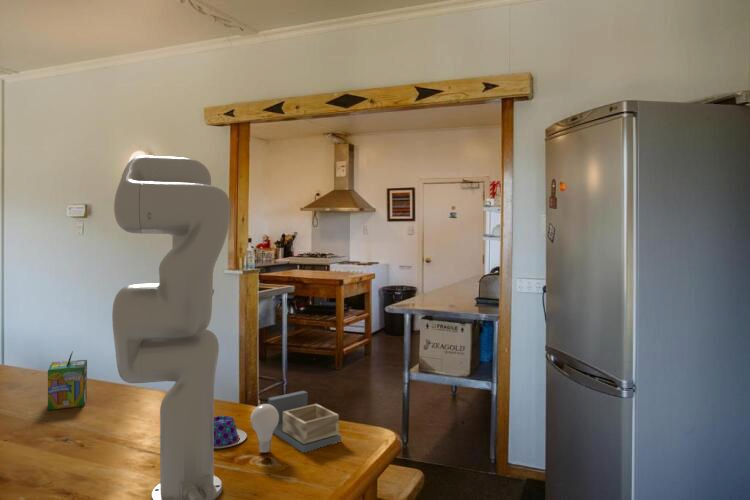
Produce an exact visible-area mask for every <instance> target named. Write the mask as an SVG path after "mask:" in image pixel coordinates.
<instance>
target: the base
mask: <svg viewBox="0 0 750 500" xmlns="http://www.w3.org/2000/svg"><path fill="white" fill-rule="evenodd" d="M308 393H309V392H308V391H306V390H299V391H296V392H291V393H285V394H282V395H276V396H272V397H268V398H267V404H270V405H272V406H274V407H275V408H276V409H277V411H278V413H279V422H278V425H277V427H276V428H275V430H274V431H273V435H275V436H277V437H278V438H280V439H282V440H283V441H285V442H286V443H287V444H289V445H290V446H292V447H294V448H295V449H297V450H298V451H299V452H301V453H302V452H303V453H302V454H305V453H309V452H311V450H312V451H315V450H318V449H317V448H319V449H321V448H320V447H322V448H324V447H323V446H325V447H327V446H326V445H329V444H332V445H334V444H333V443H335V442H339V441H341V442H342V435H341V434H340V433H339V434H337V435H334V436H330V437H327V438H323V439H320V440H316V441H313V442H309V443H306V444H303V443H301V442H300V441H298V440H297V439H295V438H293V437H292V436H290V435H289V434H287V433H286V432H284V431H283V411H287V410H291V409H295V408H299V407H304V406H308ZM339 443H340V442H339ZM335 444H336V443H335ZM329 446H330V445H329ZM314 449H315V450H314ZM308 451H309V452H308ZM304 452H305V453H304Z"/></svg>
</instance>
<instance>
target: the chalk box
mask: <svg viewBox="0 0 750 500" xmlns="http://www.w3.org/2000/svg"><path fill="white" fill-rule="evenodd" d="M73 352H74V351H71V353H70V355H69V358H68V360H65V361H64V360H63V361H52V362H51V364H50V366H49V367H48V370H47V411H52V410H60V409H61V410H62V409H69V408H79V407H84V406H86V401H87V397H88V395H87V393H88V391H87V387H88V386H87V379H88V378H87V377H88V360H87V359H82V360H81V359H80V360H72V356H73Z"/></svg>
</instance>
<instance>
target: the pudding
mask: <svg viewBox="0 0 750 500" xmlns="http://www.w3.org/2000/svg"><path fill="white" fill-rule="evenodd" d="M238 435H239V436H238ZM247 437H248V435H247V433H246V432H245V431H243V430H241V429H238V428H237V426H236V422H235V419H234V417H232V416H228V415H218V416H215V417H214V449H223V448H224V449H225V448H229V447H232V446H233V447H234V446H236V445H238V444H241V443H242V442H244V441H245V440H246V438H247ZM239 438H240V440H239ZM238 440H239V441H238ZM235 441H236V442H235ZM237 441H238V442H237Z"/></svg>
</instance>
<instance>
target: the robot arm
mask: <svg viewBox="0 0 750 500" xmlns="http://www.w3.org/2000/svg"><path fill="white" fill-rule="evenodd" d="M113 203H114V204H113V211H114V217H115V220H116V223H117V226H119V227H120V229H122V230H123V231H125V232H127V233H130V234H140V235H141V234H143V235H144V234H146V235H147V234H149V235H150V234H151V235H156V234H157V235H160V234H161V235H167V234H168V235H171V237H172V243H171V245H172V246H171V247H172V248H171V249H170V250H169V251H168V253H166V255H164V257H163V258H162V260H161V262H160V263H159V267H158V275H159V277H158V278H159V282H158V283H136V284H129V285H126V286H123V287H122V288H121V289H120V290H119V291H118V292H117V294H116V295H115V297H114V299H113V304H112V312H111V313H112V316H111V317H112V330H113V331H112V332H113V340H114V350H115V360H116V366H117V367H116V368H117V372H118V375H119V377H120V379H121V380H123V382H125V383H128V384H147V383H157V382H158V383H159V382H174V384H173V385H172V386H171V388H170V389H168V391H167V392H166V394H165V395H164V397H163V398H162V400H161V402H160V403H161V404H160V408H159V409H160V410H159V417H160V418H159V420H160V421H159V425H160V426H159V431H160V432H159V435H160V436H159V441H160V443H159V447H160V449H159V452H160V453H159V458H160V459H159V462H160V463H159V464H160V466H159V468H160V469H159V470H160V472H159V473H160V475H159V476H160V477H159V478H160V483H159V484H157V485H156V486H155V487H154V488H152V489H153V490H152V491H151V494H150V495H151V497H150V498H151V499H150V500H216V499H218V497H219V496H220V495H221V493H222V491H223V482H222V480H221V479H220V478H219V477H218V476H216V475H215V474H214V473H215V471H214V470H215V469H214V468H215V465H214V462H215V460H214V459H215V458H214V456H215V455H214V454H215V453H214V452H215V451H214V450H215V448H214V416H215V413H214V411H215V381H216V374H217V365H218V361H219V360H218V359H219V351H220V345H219V340H218V337H217V335H216V334H215V333H214V332H213V331H211V330H209V329H208V327H209V325H210V322H211V319H212V310H213V295H214V292H215V290H214V289H213V283H214V269H215V266H216V262H217V261H218V258H219V257H220V254H221V251H222V249H223V247H224V244H225V242H226V240H227V239H226V238H227V236H228V232H229V226H230V219H231V203H230V198H229V196H228V194H227V193H226V191H224V190H223V189H221V188H220V187H217V186H215V185H212V177H211V173H210V171H209V169H208V167H206V166H205V164H203V163H202V162H200V161H198V160H196V159H193V158H189V157H188V158H187V157H177V156H158V155H157V156H156V155H155V156H154V155H138V156H136V157H133V158H132V159H131V160H130V161H129V162H128V163H127V164H126V166H125V168H124V170H123V171H122V174H121V178H120V181H119V183H118V186H117V189H116V192H115V196H114V202H113Z"/></svg>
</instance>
